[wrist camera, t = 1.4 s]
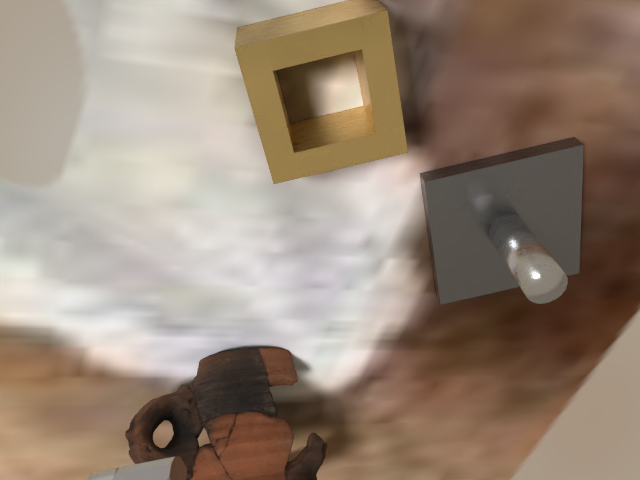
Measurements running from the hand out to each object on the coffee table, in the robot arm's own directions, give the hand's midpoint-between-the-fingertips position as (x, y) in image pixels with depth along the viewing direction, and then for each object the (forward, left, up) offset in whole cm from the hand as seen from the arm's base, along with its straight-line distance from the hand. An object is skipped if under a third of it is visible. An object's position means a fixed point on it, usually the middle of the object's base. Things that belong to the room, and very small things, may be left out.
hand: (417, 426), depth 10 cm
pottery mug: (+19, -9, -20) cm, 29 cm away
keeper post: (+10, +8, -20) cm, 24 cm away
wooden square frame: (0, 0, -20) cm, 20 cm away
